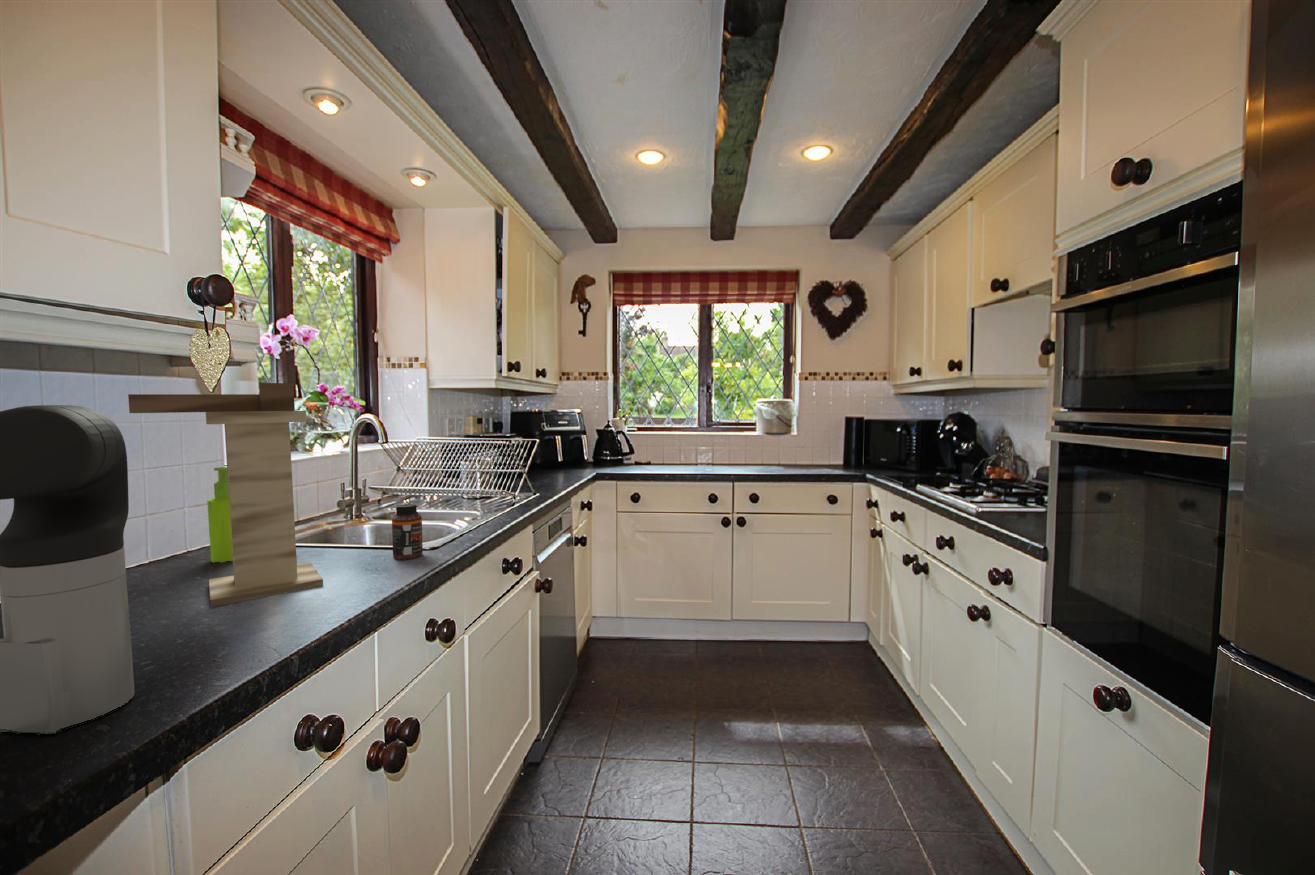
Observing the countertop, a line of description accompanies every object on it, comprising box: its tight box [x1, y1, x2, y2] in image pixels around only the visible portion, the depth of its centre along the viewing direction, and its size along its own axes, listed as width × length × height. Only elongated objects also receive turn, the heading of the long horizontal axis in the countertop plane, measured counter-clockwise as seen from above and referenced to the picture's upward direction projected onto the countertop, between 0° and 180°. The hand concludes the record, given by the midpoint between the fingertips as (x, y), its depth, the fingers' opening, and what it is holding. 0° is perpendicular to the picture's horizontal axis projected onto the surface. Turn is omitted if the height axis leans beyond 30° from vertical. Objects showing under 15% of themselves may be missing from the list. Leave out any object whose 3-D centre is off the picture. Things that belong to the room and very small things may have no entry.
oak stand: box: [205, 409, 324, 608], centre depth 100 cm, size 14×16×32 cm
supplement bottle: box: [391, 503, 424, 560], centre depth 119 cm, size 6×6×11 cm
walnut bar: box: [127, 382, 296, 414], centre depth 95 cm, size 5×22×5 cm, turn 126°
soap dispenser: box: [207, 466, 233, 563], centre depth 118 cm, size 6×7×20 cm
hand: (68, 442), depth 84 cm, fingers open, 8 cm apart
